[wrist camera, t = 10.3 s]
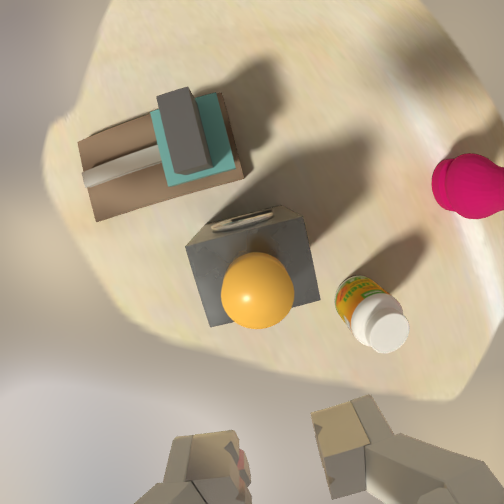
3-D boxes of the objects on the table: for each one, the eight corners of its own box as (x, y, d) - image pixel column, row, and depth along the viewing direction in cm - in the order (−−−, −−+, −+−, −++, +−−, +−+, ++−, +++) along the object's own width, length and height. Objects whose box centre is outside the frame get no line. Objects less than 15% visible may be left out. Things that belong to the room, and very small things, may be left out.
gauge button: (215, 261, 19) (212, 270, 17) (281, 244, 19) (285, 251, 17) (232, 321, 20) (232, 335, 18) (295, 306, 20) (300, 319, 18)
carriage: (159, 119, 29) (132, 98, 21) (218, 102, 29) (210, 73, 21) (176, 186, 30) (152, 187, 22) (236, 169, 30) (234, 164, 22)
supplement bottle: (365, 265, 34) (404, 293, 25) (384, 302, 36) (423, 337, 26) (324, 292, 35) (352, 329, 25) (346, 327, 36) (376, 370, 26)
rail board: (83, 143, 31) (70, 140, 28) (222, 96, 30) (220, 88, 27) (101, 220, 33) (90, 224, 30) (244, 178, 32) (244, 178, 29)
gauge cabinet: (203, 219, 33) (182, 238, 21) (279, 199, 33) (300, 207, 21) (220, 279, 34) (210, 327, 23) (294, 260, 34) (320, 299, 22)
